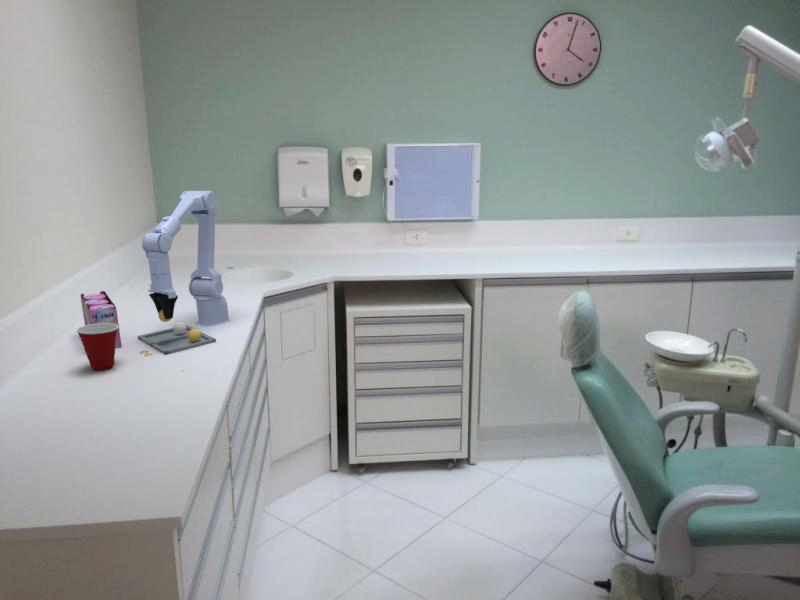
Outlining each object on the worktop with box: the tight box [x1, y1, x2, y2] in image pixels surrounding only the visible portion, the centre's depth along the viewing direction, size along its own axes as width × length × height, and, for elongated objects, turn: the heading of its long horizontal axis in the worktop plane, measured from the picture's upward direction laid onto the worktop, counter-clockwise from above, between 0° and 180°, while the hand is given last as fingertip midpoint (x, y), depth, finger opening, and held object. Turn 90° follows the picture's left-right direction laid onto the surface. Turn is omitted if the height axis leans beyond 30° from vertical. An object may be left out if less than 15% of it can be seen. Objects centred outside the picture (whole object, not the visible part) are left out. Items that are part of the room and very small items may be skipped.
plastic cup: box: [76, 323, 120, 372], centre depth 190 cm, size 11×11×12 cm
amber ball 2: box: [187, 328, 201, 342], centre depth 209 cm, size 4×4×4 cm
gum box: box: [80, 290, 123, 349], centre depth 213 cm, size 24×8×14 cm, turn 30°
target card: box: [139, 350, 154, 357], centre depth 200 cm, size 5×8×1 cm, turn 41°
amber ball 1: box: [158, 310, 173, 323], centre depth 206 cm, size 4×4×4 cm
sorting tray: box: [137, 324, 217, 356], centre depth 211 cm, size 16×21×1 cm
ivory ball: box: [172, 321, 187, 335], centre depth 216 cm, size 4×4×4 cm
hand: (166, 317), depth 206 cm, fingers closed on amber ball 1, 4 cm apart
